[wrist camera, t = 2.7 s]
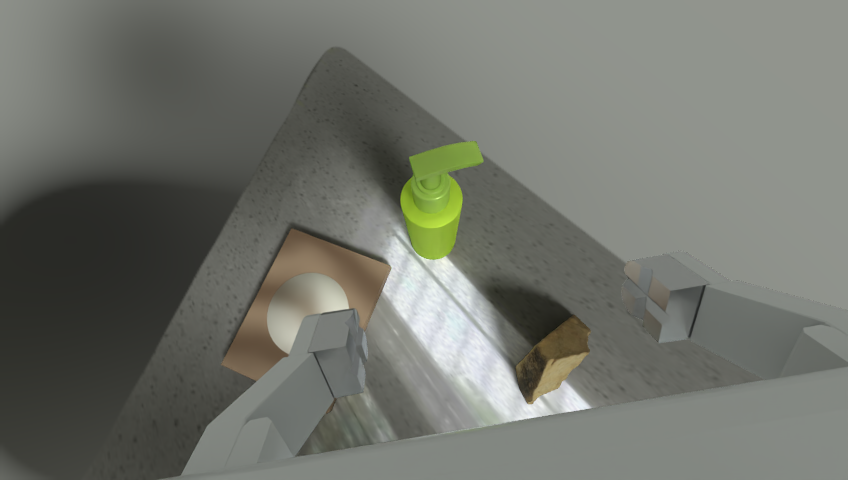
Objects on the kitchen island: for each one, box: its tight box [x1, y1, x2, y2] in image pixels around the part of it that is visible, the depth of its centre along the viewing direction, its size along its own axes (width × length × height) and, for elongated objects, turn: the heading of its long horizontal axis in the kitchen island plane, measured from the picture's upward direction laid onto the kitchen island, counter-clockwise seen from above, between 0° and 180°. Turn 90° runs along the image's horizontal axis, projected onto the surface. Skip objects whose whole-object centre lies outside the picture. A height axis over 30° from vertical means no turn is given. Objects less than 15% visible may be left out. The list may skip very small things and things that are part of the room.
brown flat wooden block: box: [221, 228, 391, 413], centre depth 41 cm, size 18×14×2 cm
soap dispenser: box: [400, 141, 483, 260], centre depth 34 cm, size 6×7×20 cm
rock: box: [516, 315, 591, 404], centre depth 36 cm, size 11×9×10 cm
